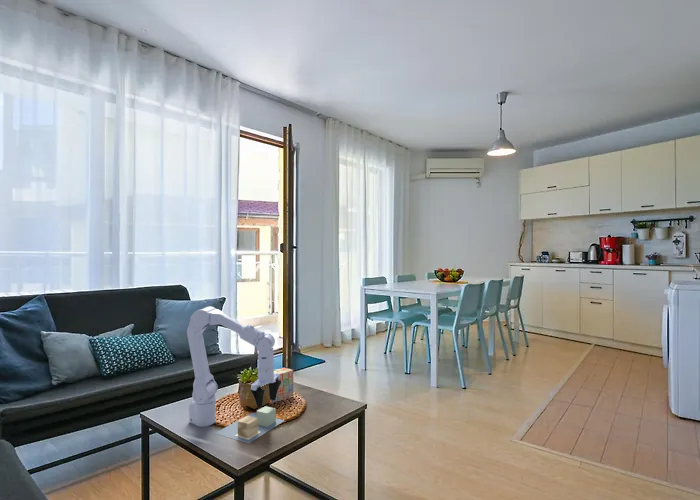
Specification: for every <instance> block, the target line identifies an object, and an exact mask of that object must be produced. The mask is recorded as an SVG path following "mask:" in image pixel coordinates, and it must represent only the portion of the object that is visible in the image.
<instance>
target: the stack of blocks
mask: <svg viewBox="0 0 700 500" xmlns="http://www.w3.org/2000/svg"><path fill="white" fill-rule="evenodd" d="M275 373H278V374H280V379H278V380H280V381H281V384H280V386H279V388H278V391H277V395H276V399H275V400H271V401H270V404H269V405H271V404H273V403H277V402H278V401H280V402H282V401H281V400H283V401H285V400H284V399H286V398H289V397H291V396H293V397H294V369H291V368H287V367H281V368H277V369H274V374H275ZM291 398H292V397H291ZM289 399H290V398H289ZM286 400H287V399H286Z"/></svg>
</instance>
